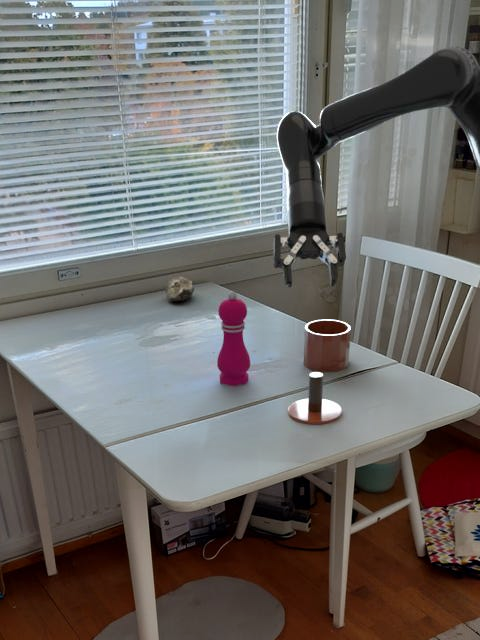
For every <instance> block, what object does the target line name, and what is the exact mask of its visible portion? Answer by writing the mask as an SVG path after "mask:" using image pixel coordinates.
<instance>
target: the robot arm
mask: <svg viewBox="0 0 480 640" xmlns="http://www.w3.org/2000/svg"><path fill="white" fill-rule="evenodd" d="M433 108H434V109H435V108H447V109H448V111H449V112H450V113H451V115H452V116H453V117H454V118H455V120H456V121H457V123H458V124H459V125H460V127H461V129H462V130H463V132H464V134H465V136H466V138H467V141H468V143H469V146H470V149H471V153H472V157H473V161H474V162H475V165H476V169H477V172H478V174H479V175H480V65H479V62H478V60H477V58H476V57H475V56H474V55H473V53H472V52H470V51H469V50H468V49H466V48H465V47H461V46H449V47H445V48H441V49H438V50H436V51H434V52H433V53H431V55H429V56H428V57H426V58H425V59H423V60H422V61H420V62H418V64H416V65H414V66H413V67H411V68H409V69H408V70H407V71H405V72H403V73H401V74H400V75H398V76H396V77H394V78H392V79H390V80H388V81H386V82H383V83H381V84H379V85H375V86H372V87H370V88H367V89H364V90H362V91H359V92H357V93H354V94H351V95H349V96H346V97H344V98H342V99H339V100H337V101H335V102H333V103H330V104H328V105H327V106H324V108H322V110H321V112H320V115H319V124H318V125H316V124H314V123H313V122H312V120H310V119H309V118H308V117H307V115H305V114H303V113H302V112H301V111H297V110H296V111H290V112H287V113H286V114H285V115H284V116H283V117H282V118H281V120H280V121H279V124H278V127H277V130H276V131H277V132H276V139H277V140H276V141H277V142H276V143H277V147H278V151H279V154H280V158H281V162H282V165H283V167H284V170H285V176H286V177H285V179H286V213H287V224H288V225H287V226H288V228H287V229H288V236H287V237H286V236H281V235H280V234H278V233H276V234H275V235H274V238H273V268H275V269H278V268H279V269H281V270H282V274H283V275H282V276H283V284H284V285H286V286H287V288H292V286H293V277H292V276H293V274H292V265H293V264H295V262H296V261H297V260H298V258H299V259H300V260H308V259H311V260H316V259H317V258H318V259H320V261H321V262H322V263H323V264H325V265H327V267H328V275H329V276H328V277H329V286H330V287H334V286H335V284H337V283H338V280H339V272H338V267H343V266H345V262H346V260H347V253H346V247H345V240H344V233H342V232H338V233H337V234H336V235H329V234H328V231H327V222H326V208H325V197H324V196H325V195H324V193H323V186H322V174H321V173H322V172H321V168H320V164H319V162H318V161H317V160H318V159H319V158H321V157H323V155H325V154H327V152H329V151H331V150H332V148H334V147H335V146H336V145H337V144H339V143H340V142H343V141H347V140H350V139H351V138H355V137H356V136H359V135H361V134H364V133H366V132H369V131H370V130H373V129H375V128H377V127H379V126H380V125H382V124H384V123H386V122H388V121H390V120H392V119H395V118H397V117H401V116H403V115H404V116H405V115H406V114H410V113H413V112H419V111H424V110H428V109H429V110H430V109H433ZM329 244H331V245H332V247H333V248H334V249H335V251H336V256H335V255H334V254H333V253H332V251H331V249H330V248H329V247H328V245H329ZM285 245H287V246H288V248H289V249H290V251H289V253H288V254H287V256H286V257H285V258H284V259H283V258H281V257H282V256H281V255H282V253H281V251H282V250H283V249H284V247H285Z"/></svg>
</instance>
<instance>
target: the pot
mask: <svg viewBox="0 0 480 640" xmlns="http://www.w3.org/2000/svg"><path fill="white" fill-rule="evenodd" d="M351 329H352V327H351V325H349V324H348V323H347V322H345V321H341V320H337V319H316V320H313V321H309V322H308V323H306V324H305V325H304V342H303V365H304V367H306V368H307V369H309V370H312V371H314V372H319V373H333V372H339V371H342V370H345V369H346V368H347V367H348V365H349V360H350V348H351V347H350V346H351V333H352V332H351V331H352V330H351Z"/></svg>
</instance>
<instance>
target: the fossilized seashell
mask: <svg viewBox="0 0 480 640" xmlns="http://www.w3.org/2000/svg"><path fill="white" fill-rule="evenodd" d="M164 289H165V290H164V291H165V293H166V298H167V299H168V300H169V301H171V302H182V301H185V300H187V299H189V298H190V297H192V295H193V294H194V290H195V287H194V285H193V282H192V280H191V279H190V280H189V278H187V277H184V276H176V277H174V278H171V279H170V280H169V281H167V283H166V285H165V288H164Z"/></svg>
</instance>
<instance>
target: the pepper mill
mask: <svg viewBox="0 0 480 640" xmlns="http://www.w3.org/2000/svg"><path fill="white" fill-rule="evenodd" d="M227 297H228V298H226V299H224V300H223V301H221V302H220V304H219V305H218V309H217V310H218V312H217V313H218V317H219V318H220V320H221V322H220V325H221V326H220V328H221V330H222V333H223V338H222V339H223V340H222V344H221V348H220V351H219V353H218V356H217V362H216V366H217V369H218V370H219V371H220V372H221V373H220V374H219V383H220V385H226V386H231V387H236V386H242V385H245V384H247V383H248V382H249V373H248V371H249V369H250V368H251V357H250V354H249V352H248V349H247V347H246V345H245V341H244V333H243V332H244V330H245V329H246V326H245V325H246V322H245V321H244V320H245V319H246V317H247V316H248V308H247V305H246V303H245V301H243V300H241V299H240V298H237V297H238V295H237V293H236V291H232V290H231V291H229V292H228V295H227Z"/></svg>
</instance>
